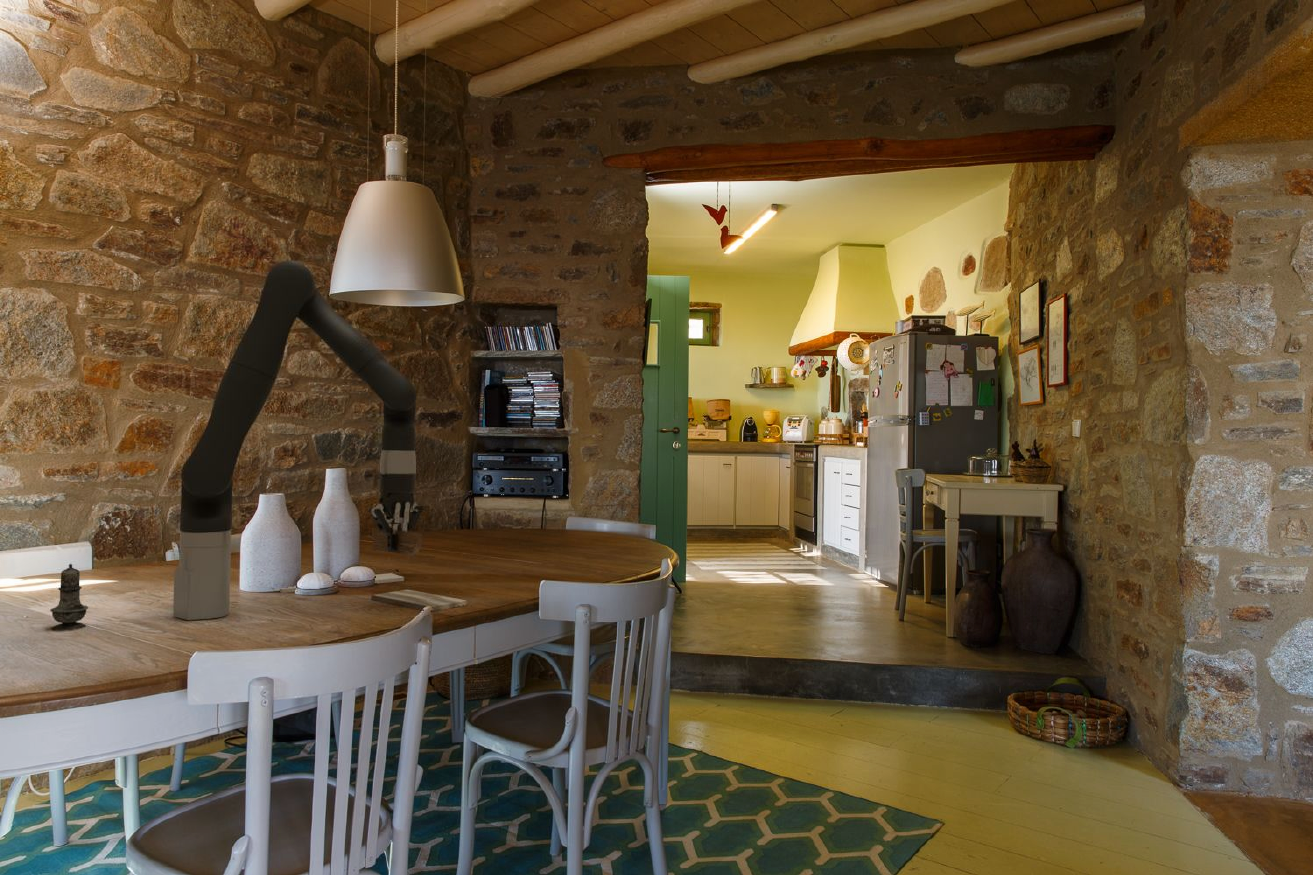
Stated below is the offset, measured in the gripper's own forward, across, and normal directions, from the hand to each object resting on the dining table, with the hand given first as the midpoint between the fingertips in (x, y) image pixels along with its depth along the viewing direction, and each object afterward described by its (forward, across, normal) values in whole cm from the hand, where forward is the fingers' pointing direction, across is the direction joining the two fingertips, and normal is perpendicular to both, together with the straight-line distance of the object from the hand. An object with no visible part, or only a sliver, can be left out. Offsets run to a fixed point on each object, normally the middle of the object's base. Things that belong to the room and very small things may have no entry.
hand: (395, 550), depth 186 cm
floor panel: (+12, -7, 0) cm, 14 cm away
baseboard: (+13, -9, -33) cm, 37 cm away
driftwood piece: (+1, 0, 0) cm, 1 cm away
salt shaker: (+13, +51, -29) cm, 60 cm away
